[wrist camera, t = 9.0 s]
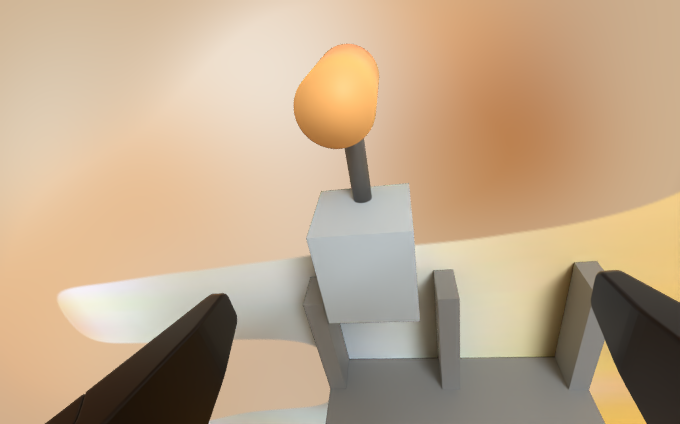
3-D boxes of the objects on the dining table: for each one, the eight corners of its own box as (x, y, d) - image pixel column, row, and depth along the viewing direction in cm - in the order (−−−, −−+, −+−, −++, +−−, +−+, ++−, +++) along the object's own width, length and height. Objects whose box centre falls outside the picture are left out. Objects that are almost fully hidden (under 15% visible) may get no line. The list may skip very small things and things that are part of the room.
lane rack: (569, 367, 26) (612, 457, 21) (337, 368, 30) (326, 446, 25) (597, 261, 21) (661, 348, 16) (310, 277, 25) (290, 353, 20)
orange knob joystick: (414, 265, 23) (420, 328, 19) (338, 269, 24) (328, 330, 20) (397, 34, 16) (400, 55, 12) (290, 52, 17) (257, 77, 13)
